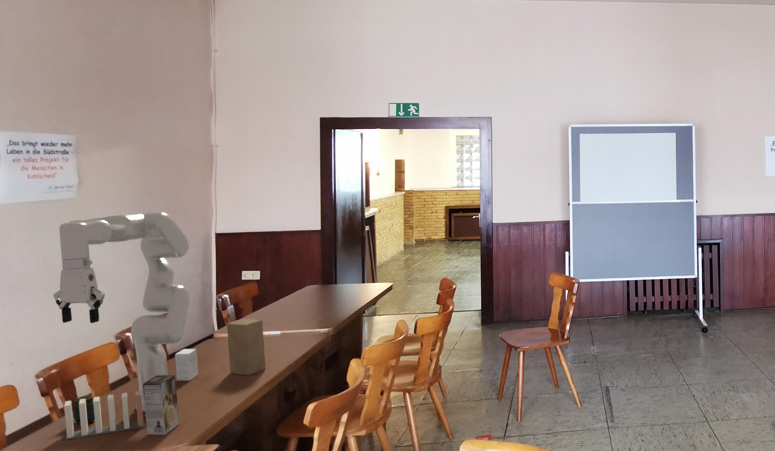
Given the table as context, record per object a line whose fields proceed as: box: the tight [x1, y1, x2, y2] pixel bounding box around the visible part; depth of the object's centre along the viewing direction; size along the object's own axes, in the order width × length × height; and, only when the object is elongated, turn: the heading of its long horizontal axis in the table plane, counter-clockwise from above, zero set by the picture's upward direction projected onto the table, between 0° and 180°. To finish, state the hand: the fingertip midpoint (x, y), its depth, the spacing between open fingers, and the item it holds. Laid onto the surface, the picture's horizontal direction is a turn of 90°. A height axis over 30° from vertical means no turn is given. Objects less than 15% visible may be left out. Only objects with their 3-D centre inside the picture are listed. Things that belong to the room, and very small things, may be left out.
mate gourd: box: [70, 394, 95, 425], centre depth 234 cm, size 7×8×10 cm
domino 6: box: [134, 390, 144, 427], centre depth 229 cm, size 5×2×10 cm, turn 20°
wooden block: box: [226, 318, 267, 376], centre depth 285 cm, size 10×10×20 cm
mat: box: [65, 419, 146, 441], centre depth 226 cm, size 6×23×1 cm, turn 110°
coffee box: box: [143, 374, 180, 436], centre depth 223 cm, size 9×6×16 cm
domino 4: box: [107, 394, 117, 431], centre depth 226 cm, size 5×2×10 cm, turn 20°
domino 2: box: [79, 399, 89, 436], centre depth 223 cm, size 5×2×10 cm, turn 19°
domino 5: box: [121, 392, 131, 429], centre depth 227 cm, size 5×2×10 cm, turn 20°
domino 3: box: [93, 396, 103, 433], centre depth 225 cm, size 5×2×10 cm, turn 20°
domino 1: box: [63, 400, 75, 438], centre depth 222 cm, size 5×2×10 cm, turn 20°
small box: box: [174, 348, 199, 382], centre depth 281 cm, size 8×6×10 cm
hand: (80, 321), depth 213 cm, fingers open, 9 cm apart
